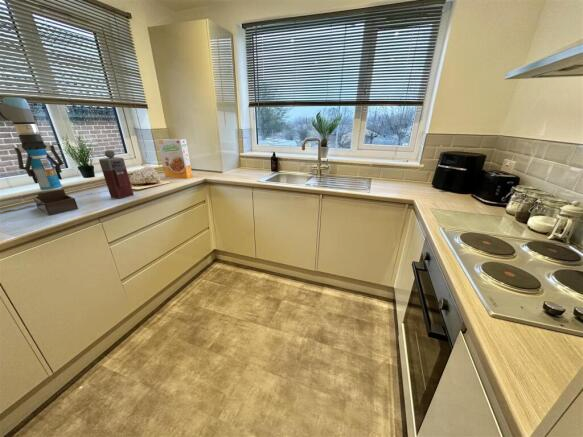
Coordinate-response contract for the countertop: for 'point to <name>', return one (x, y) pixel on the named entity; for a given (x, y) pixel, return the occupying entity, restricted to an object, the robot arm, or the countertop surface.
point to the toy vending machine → (116, 176)
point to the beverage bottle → (44, 170)
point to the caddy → (55, 202)
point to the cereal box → (175, 158)
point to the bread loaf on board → (146, 178)
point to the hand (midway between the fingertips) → (48, 180)
